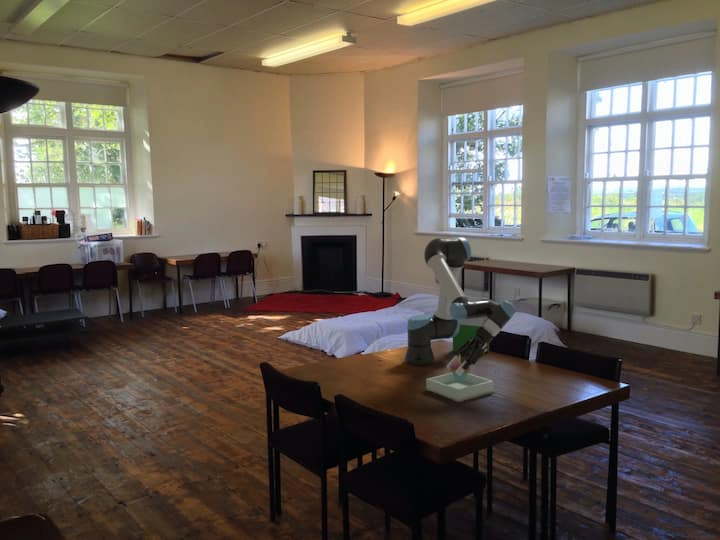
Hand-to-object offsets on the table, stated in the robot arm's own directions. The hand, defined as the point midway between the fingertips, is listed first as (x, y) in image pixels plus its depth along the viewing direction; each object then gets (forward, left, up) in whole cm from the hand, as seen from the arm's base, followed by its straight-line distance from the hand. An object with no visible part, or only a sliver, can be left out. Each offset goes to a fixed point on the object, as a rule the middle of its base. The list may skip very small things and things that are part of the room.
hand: (452, 371), depth 259 cm
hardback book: (-45, +55, -9) cm, 72 cm away
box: (+1, +3, -9) cm, 10 cm away
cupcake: (+1, +3, -4) cm, 5 cm away
